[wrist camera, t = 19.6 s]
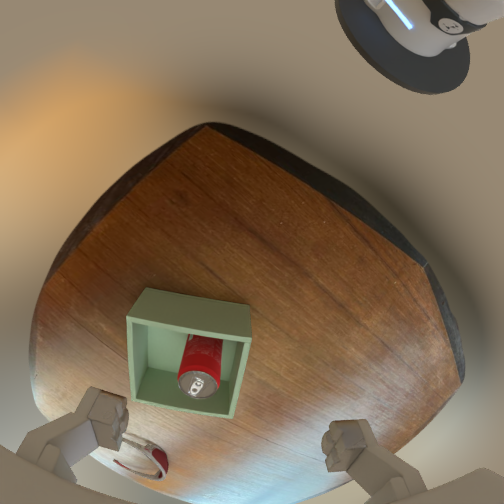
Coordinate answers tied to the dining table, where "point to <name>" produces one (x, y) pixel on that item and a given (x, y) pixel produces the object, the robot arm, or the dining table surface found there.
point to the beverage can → (200, 366)
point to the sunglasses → (153, 454)
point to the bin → (173, 344)
